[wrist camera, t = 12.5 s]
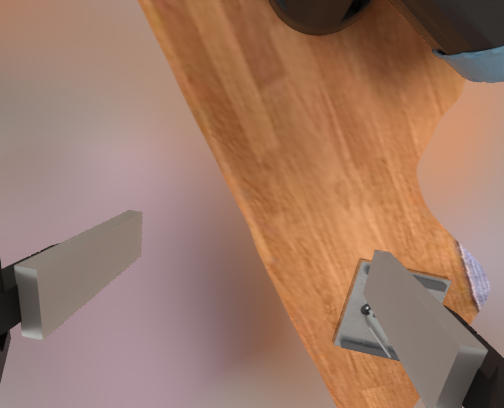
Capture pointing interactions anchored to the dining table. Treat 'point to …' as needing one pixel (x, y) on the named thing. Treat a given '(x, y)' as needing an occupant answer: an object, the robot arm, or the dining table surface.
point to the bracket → (376, 330)
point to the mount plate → (353, 321)
